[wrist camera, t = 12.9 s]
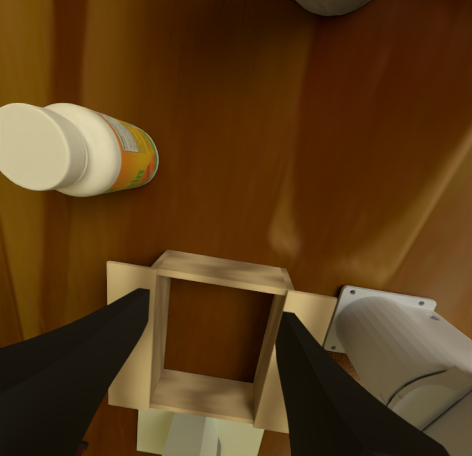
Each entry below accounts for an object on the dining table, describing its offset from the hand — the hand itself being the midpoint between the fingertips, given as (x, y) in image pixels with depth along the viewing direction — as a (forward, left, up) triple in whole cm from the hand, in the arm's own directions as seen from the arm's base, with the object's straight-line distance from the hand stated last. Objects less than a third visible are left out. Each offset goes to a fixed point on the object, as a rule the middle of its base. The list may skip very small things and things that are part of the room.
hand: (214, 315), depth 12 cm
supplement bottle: (+10, -7, -11) cm, 16 cm away
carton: (0, +10, -10) cm, 14 cm away
